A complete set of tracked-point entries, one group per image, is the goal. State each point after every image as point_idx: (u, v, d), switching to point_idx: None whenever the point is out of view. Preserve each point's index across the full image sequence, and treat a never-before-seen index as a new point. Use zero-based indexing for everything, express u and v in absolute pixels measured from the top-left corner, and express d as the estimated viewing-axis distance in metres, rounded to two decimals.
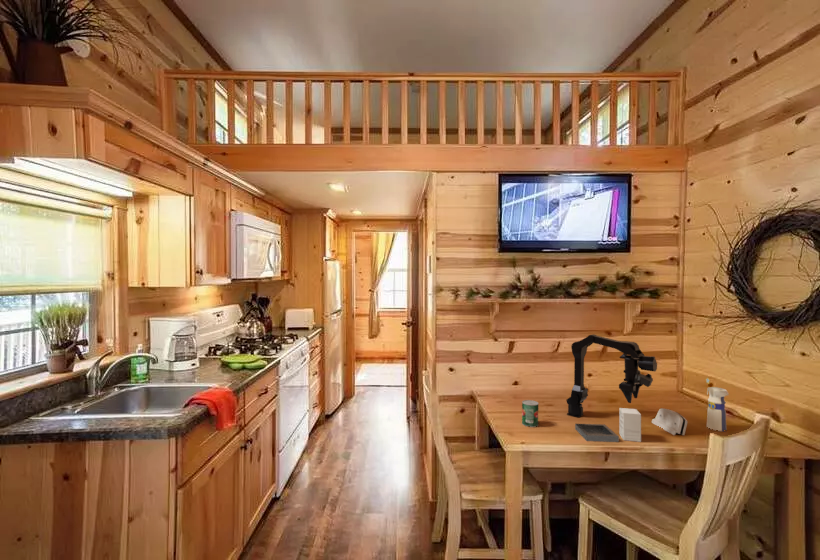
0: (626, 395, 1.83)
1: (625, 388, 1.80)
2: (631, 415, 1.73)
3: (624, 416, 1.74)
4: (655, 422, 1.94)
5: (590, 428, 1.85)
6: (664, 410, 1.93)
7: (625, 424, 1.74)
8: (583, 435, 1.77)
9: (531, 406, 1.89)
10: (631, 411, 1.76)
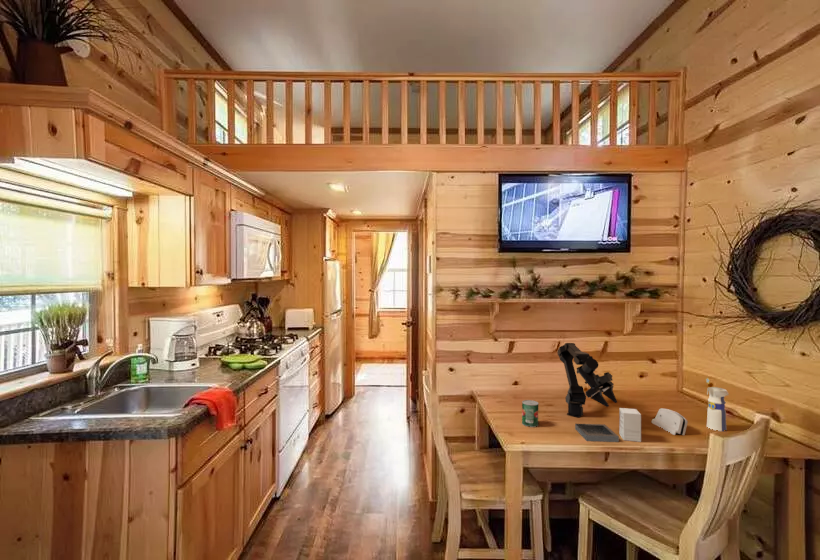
0: (599, 401, 1.82)
1: (591, 393, 1.81)
2: (631, 415, 1.73)
3: (624, 416, 1.74)
4: (655, 422, 1.94)
5: (590, 428, 1.85)
6: (664, 410, 1.93)
7: (625, 424, 1.74)
8: (583, 435, 1.77)
9: (531, 406, 1.89)
10: (631, 411, 1.76)
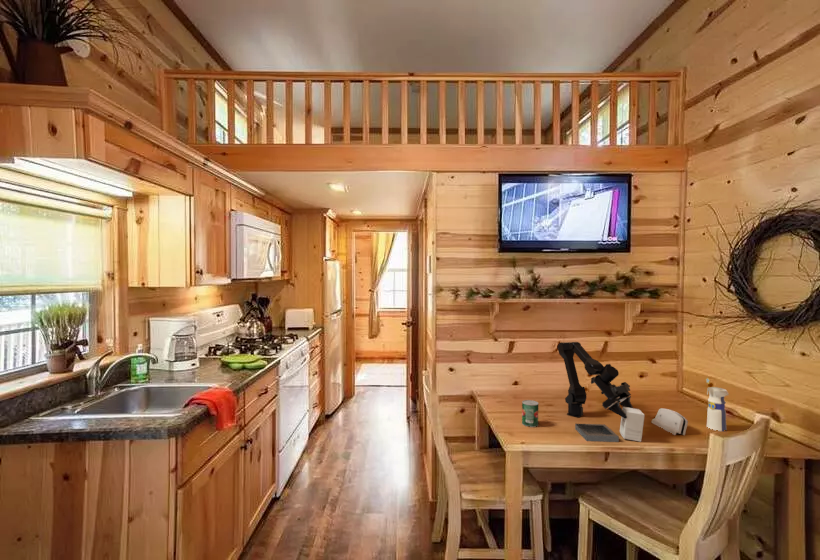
0: (617, 412, 1.75)
1: (608, 404, 1.75)
2: (635, 414, 1.73)
3: (627, 415, 1.74)
4: (655, 422, 1.94)
5: (590, 428, 1.85)
6: (664, 410, 1.93)
7: (627, 423, 1.74)
8: (583, 435, 1.77)
9: (531, 406, 1.89)
10: (635, 411, 1.75)
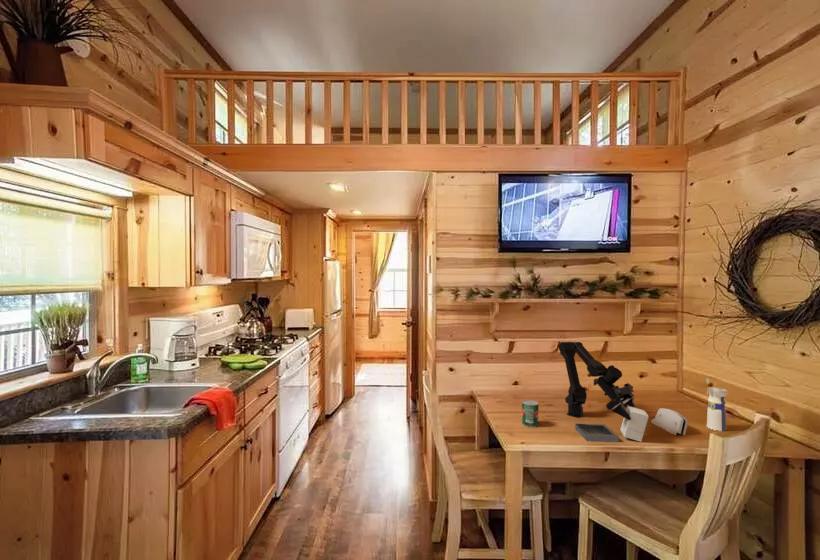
0: (621, 413, 1.74)
1: (612, 406, 1.74)
2: (639, 415, 1.72)
3: (631, 415, 1.73)
4: (655, 422, 1.94)
5: (590, 428, 1.85)
6: (664, 410, 1.93)
7: (630, 422, 1.73)
8: (583, 435, 1.77)
9: (531, 406, 1.89)
10: (639, 411, 1.74)
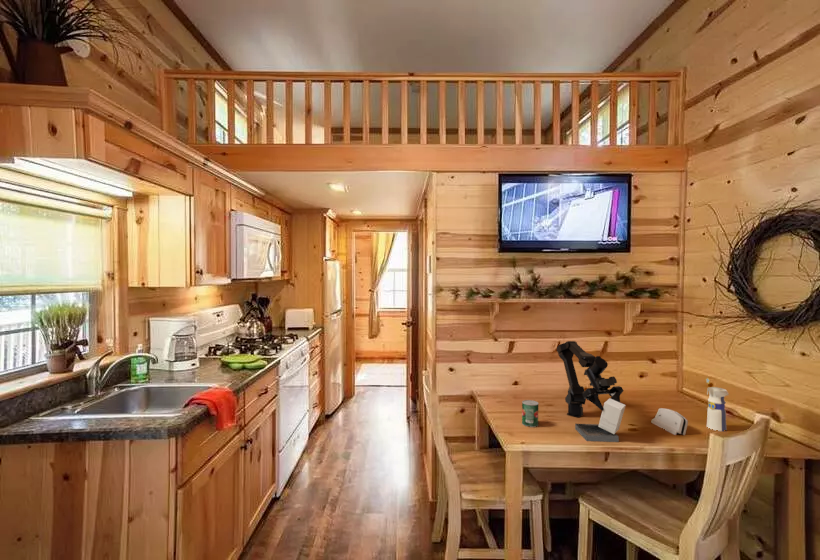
0: (595, 403, 1.78)
1: (586, 394, 1.80)
2: (611, 407, 1.73)
3: (604, 406, 1.75)
4: (655, 422, 1.94)
5: (590, 428, 1.85)
6: (664, 410, 1.93)
7: (603, 413, 1.76)
8: (583, 435, 1.77)
9: (531, 406, 1.89)
10: (615, 404, 1.75)
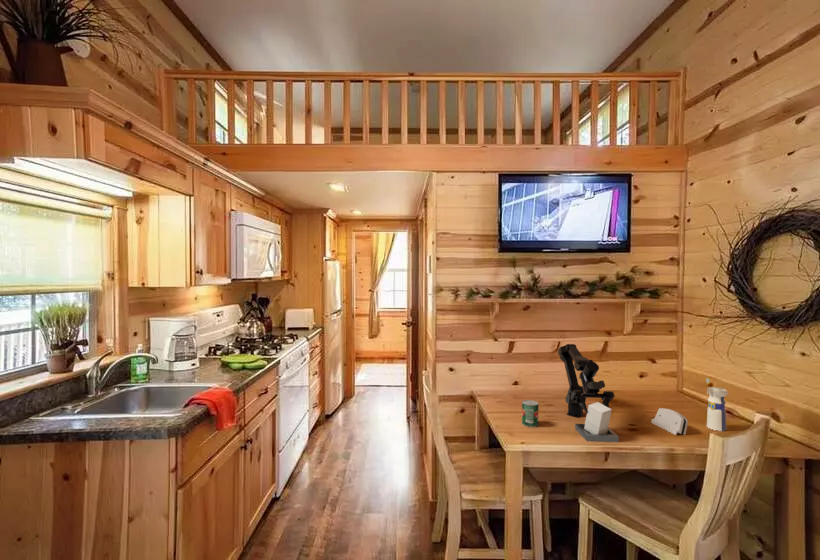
0: (581, 405, 1.82)
1: (572, 396, 1.85)
2: (594, 410, 1.76)
3: (588, 408, 1.79)
4: (655, 422, 1.94)
5: None
6: (664, 410, 1.93)
7: (587, 415, 1.79)
8: (583, 435, 1.77)
9: (531, 406, 1.89)
10: (599, 407, 1.76)
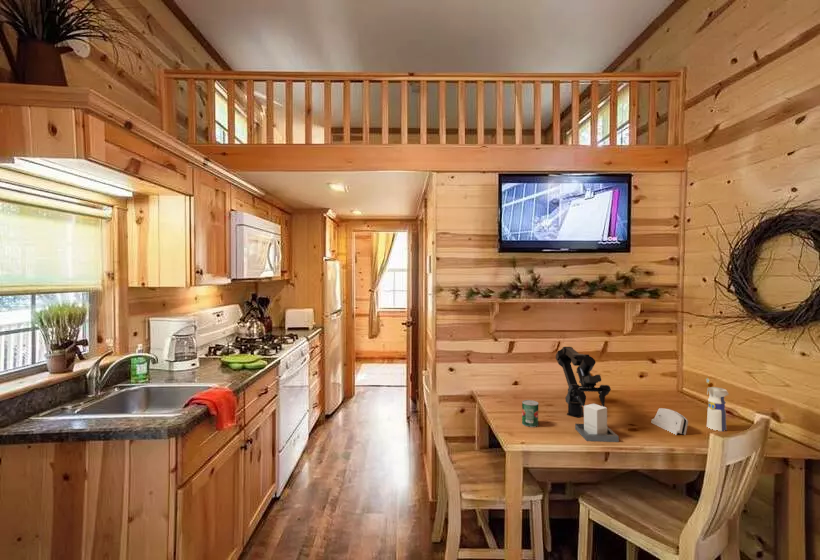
0: (578, 399, 1.86)
1: (569, 390, 1.89)
2: (589, 409, 1.79)
3: (584, 409, 1.81)
4: (655, 422, 1.94)
5: None
6: (663, 410, 1.93)
7: (585, 417, 1.81)
8: (583, 435, 1.77)
9: (531, 406, 1.89)
10: (594, 407, 1.79)
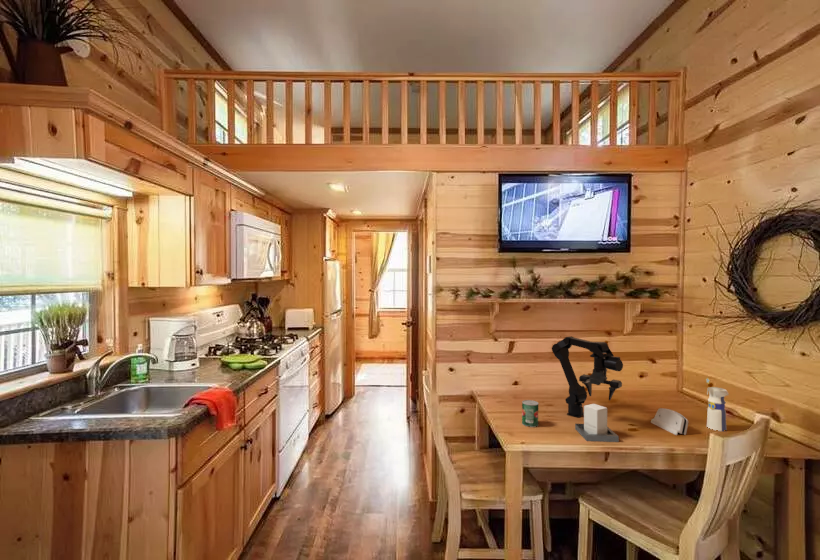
0: None
1: None
2: (590, 409, 1.79)
3: (584, 409, 1.81)
4: (654, 422, 1.94)
5: None
6: (663, 410, 1.93)
7: (585, 417, 1.81)
8: (583, 435, 1.77)
9: (531, 406, 1.89)
10: (594, 407, 1.80)
